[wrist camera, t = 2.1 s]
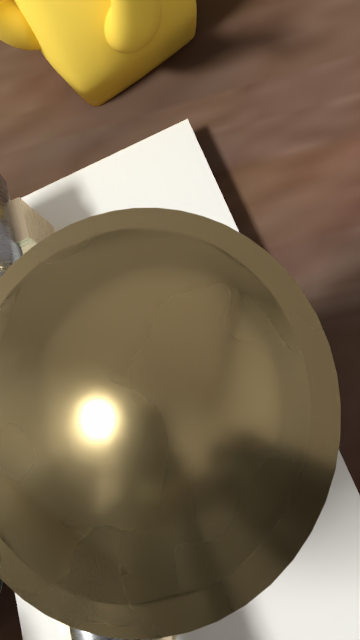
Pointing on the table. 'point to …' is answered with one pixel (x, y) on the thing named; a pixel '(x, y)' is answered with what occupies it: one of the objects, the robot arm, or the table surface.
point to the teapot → (99, 38)
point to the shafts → (3, 250)
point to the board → (343, 498)
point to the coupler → (157, 423)
